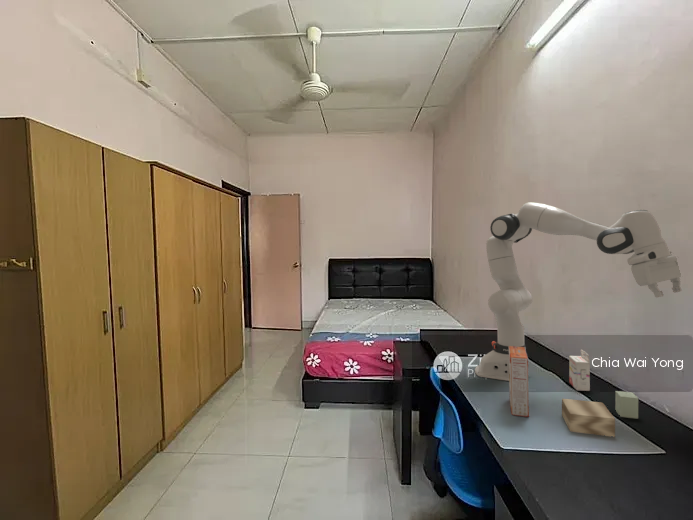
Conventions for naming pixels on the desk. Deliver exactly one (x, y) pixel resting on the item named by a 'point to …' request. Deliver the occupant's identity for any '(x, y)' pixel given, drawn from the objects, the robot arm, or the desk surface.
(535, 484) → the desk surface
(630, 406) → the sage block
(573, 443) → the desk surface
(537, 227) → the robot arm
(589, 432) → the ash plinth
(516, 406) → the cracker box
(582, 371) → the ink cartridge box
